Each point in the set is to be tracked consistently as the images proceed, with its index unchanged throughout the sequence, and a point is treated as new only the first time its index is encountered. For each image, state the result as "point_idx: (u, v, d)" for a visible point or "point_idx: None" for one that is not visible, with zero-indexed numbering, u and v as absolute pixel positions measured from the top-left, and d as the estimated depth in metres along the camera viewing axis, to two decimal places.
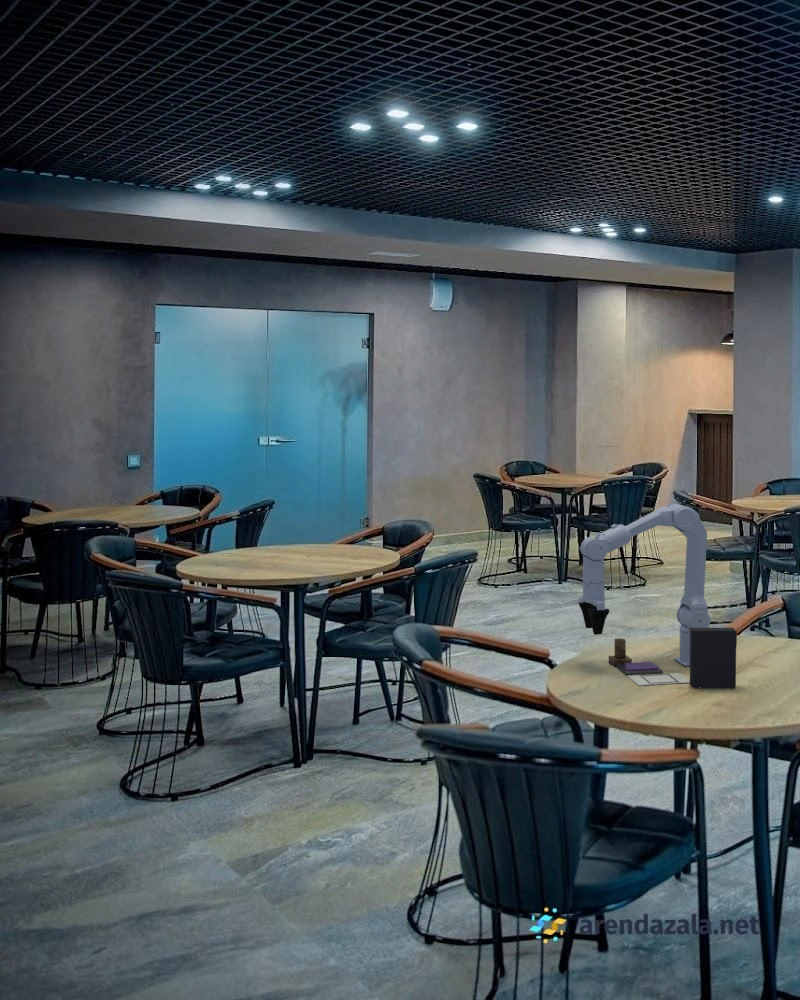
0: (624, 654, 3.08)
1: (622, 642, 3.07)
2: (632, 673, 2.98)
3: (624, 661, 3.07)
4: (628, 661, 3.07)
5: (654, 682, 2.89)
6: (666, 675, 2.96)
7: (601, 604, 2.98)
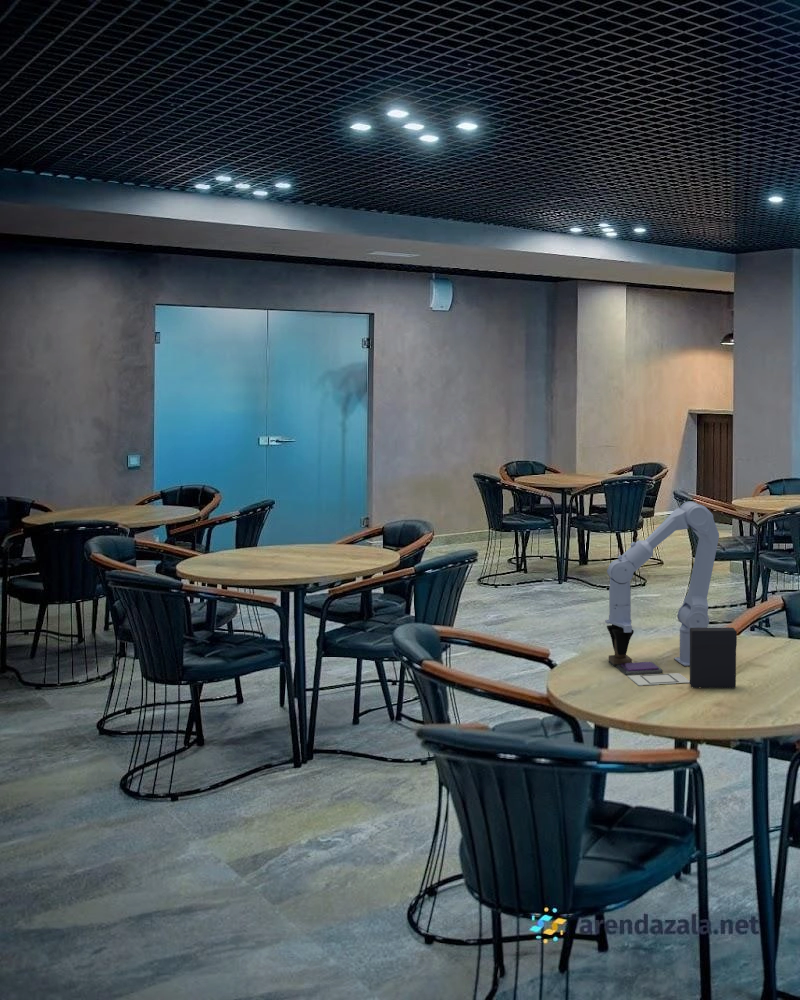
0: None
1: None
2: (632, 673, 2.98)
3: (624, 661, 3.07)
4: (628, 661, 3.07)
5: (654, 682, 2.89)
6: (666, 675, 2.96)
7: (628, 627, 3.01)
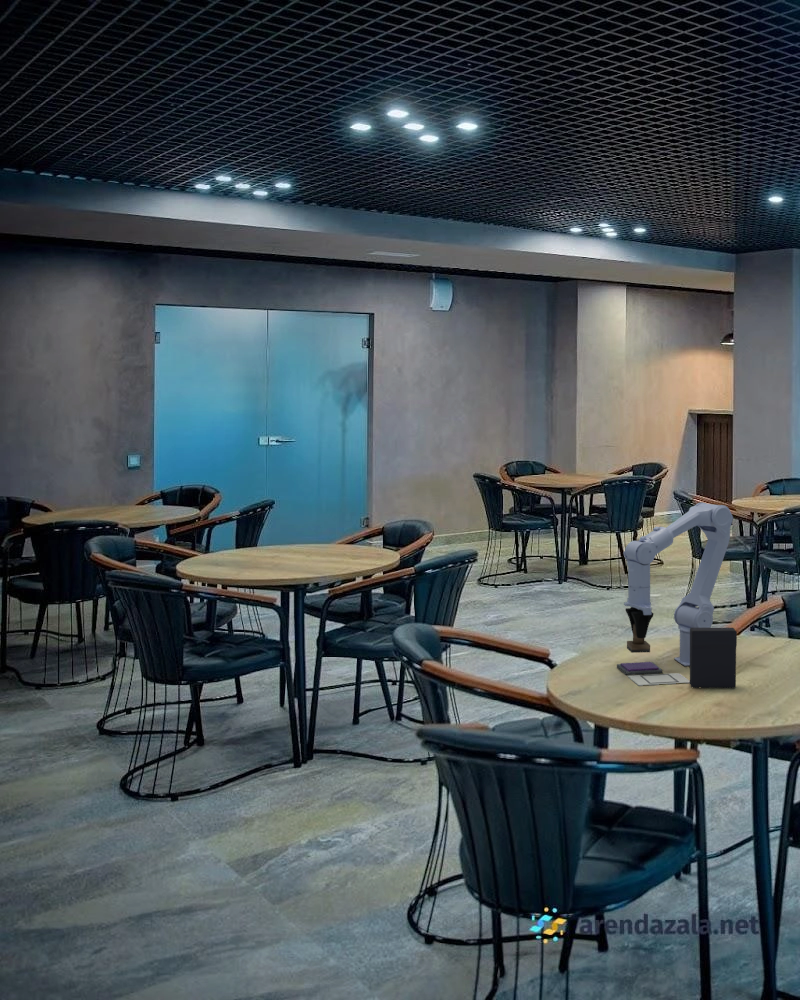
0: (643, 639, 3.00)
1: None
2: (632, 673, 2.98)
3: (642, 646, 2.99)
4: (646, 647, 2.99)
5: (654, 682, 2.89)
6: (666, 675, 2.96)
7: (648, 609, 2.93)
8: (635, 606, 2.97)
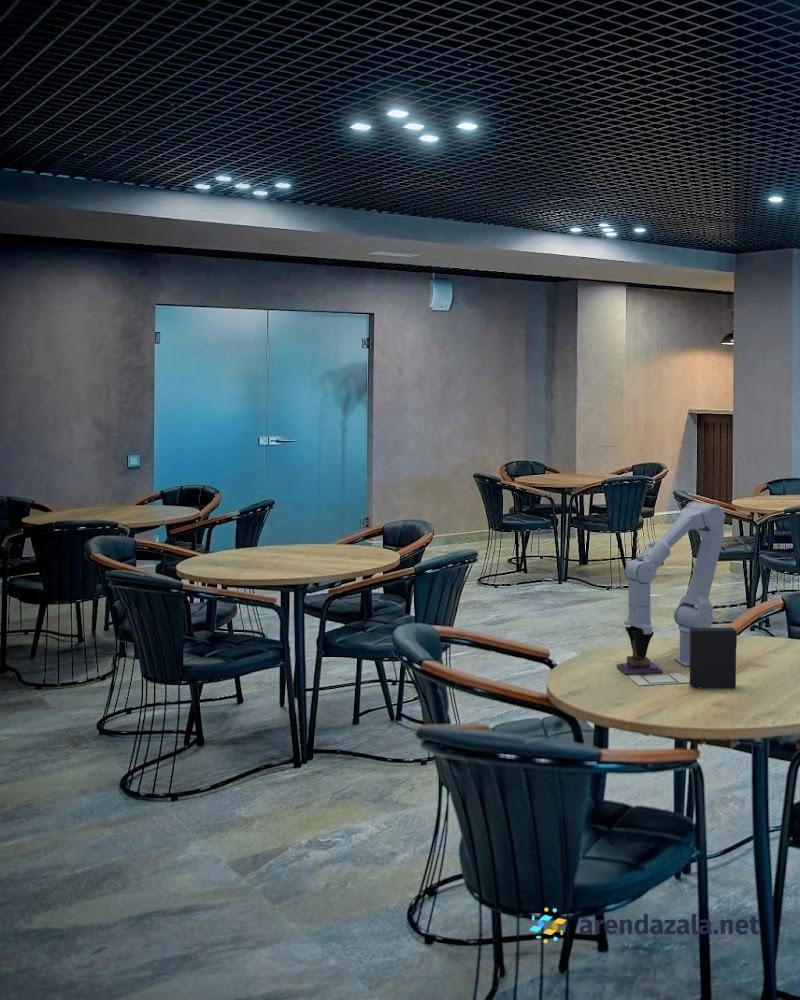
0: None
1: None
2: (632, 673, 2.98)
3: (642, 662, 3.00)
4: (646, 662, 3.00)
5: (654, 682, 2.89)
6: (666, 675, 2.96)
7: (648, 628, 2.94)
8: (635, 625, 2.98)
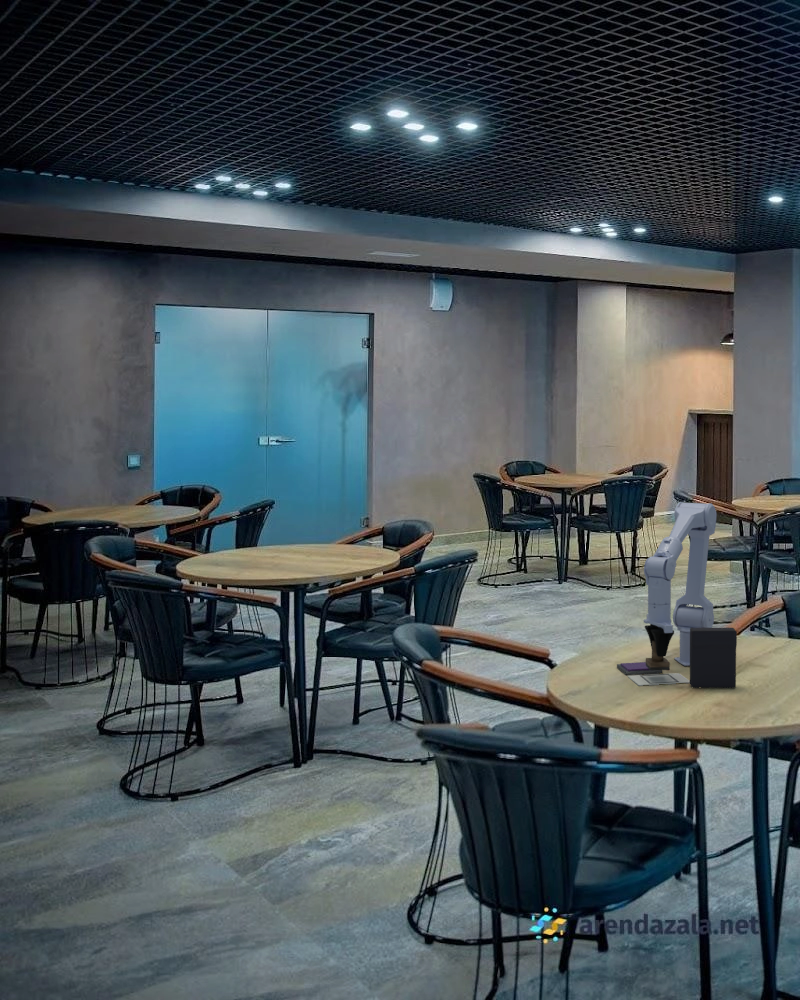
0: (662, 657, 2.91)
1: None
2: (632, 673, 2.98)
3: (661, 664, 2.90)
4: (666, 664, 2.90)
5: (654, 682, 2.89)
6: (666, 675, 2.96)
7: (669, 627, 2.84)
8: (655, 623, 2.88)
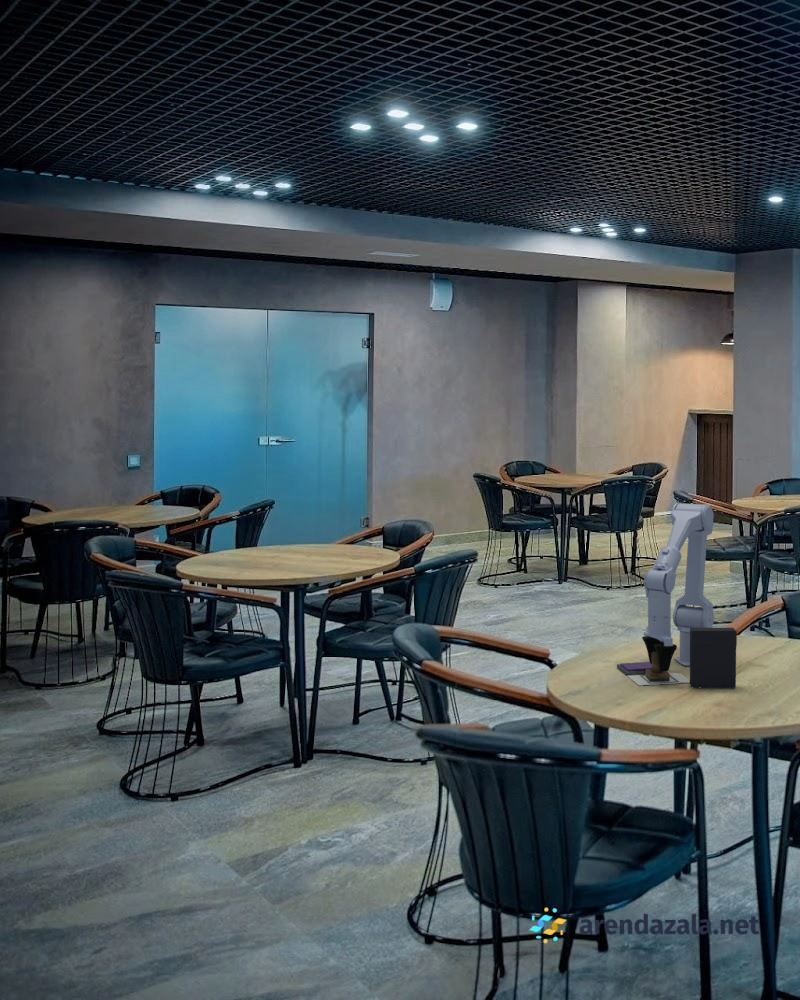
0: None
1: None
2: (632, 673, 2.98)
3: (661, 675, 2.90)
4: (665, 675, 2.90)
5: (654, 682, 2.89)
6: None
7: (669, 640, 2.84)
8: (655, 636, 2.88)
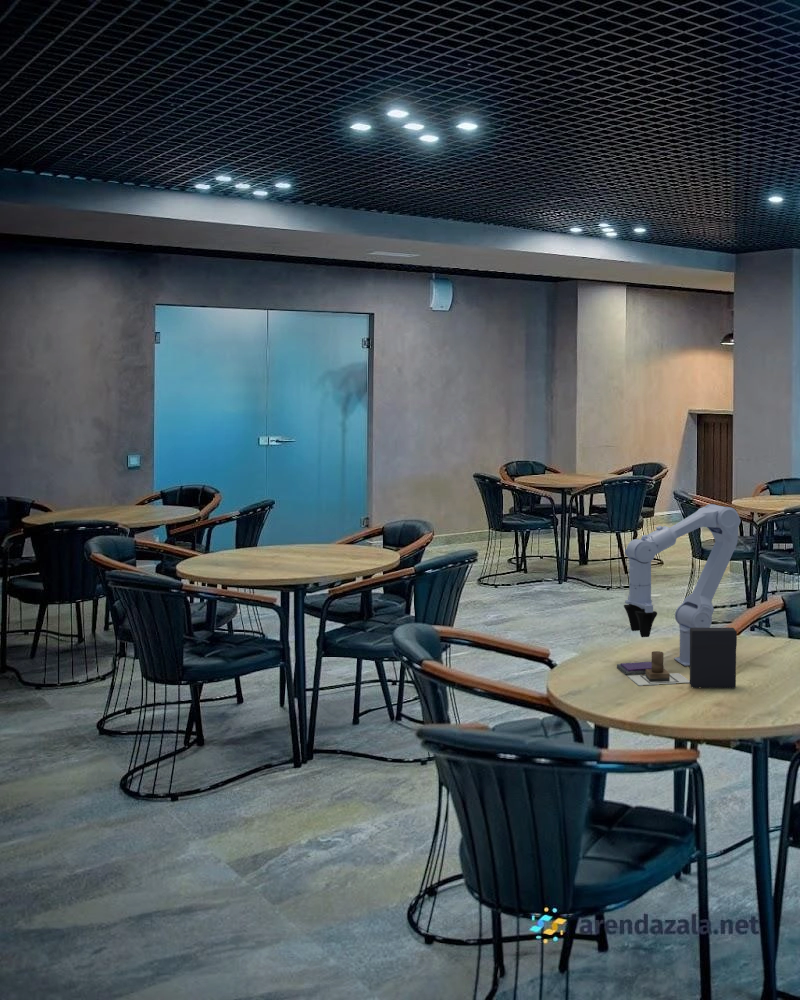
0: (661, 668, 2.91)
1: (659, 655, 2.90)
2: (632, 673, 2.98)
3: (661, 675, 2.90)
4: (665, 675, 2.90)
5: (654, 682, 2.89)
6: None
7: (649, 607, 2.96)
8: (636, 604, 3.00)
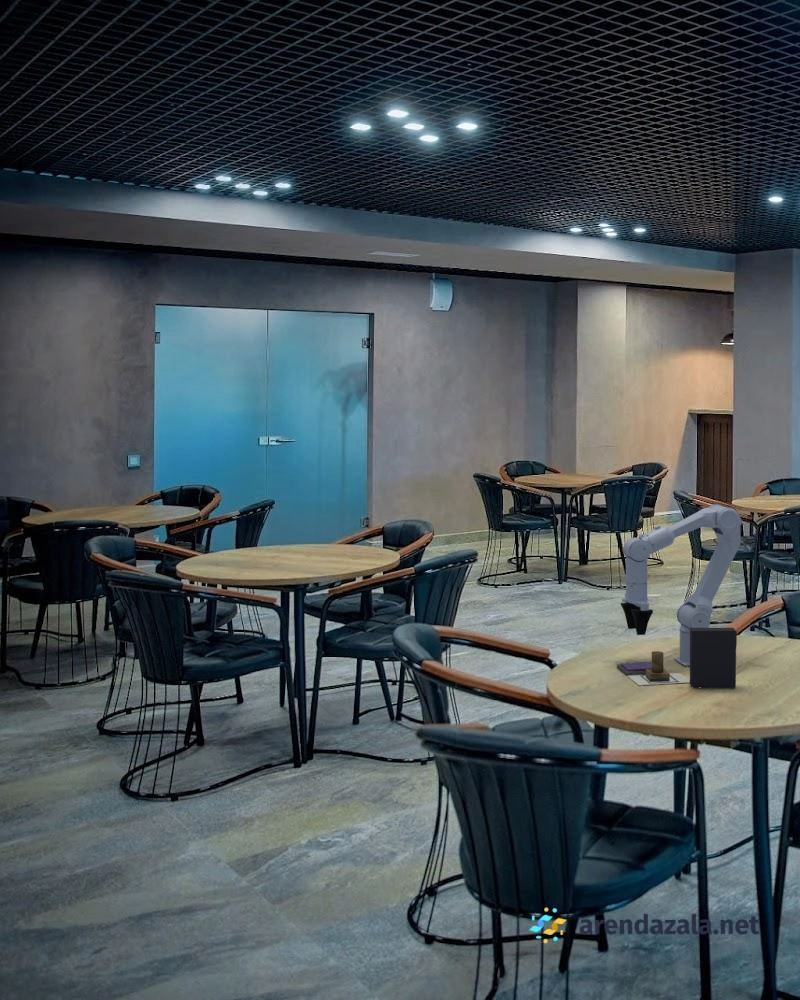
0: (661, 668, 2.91)
1: (659, 655, 2.90)
2: (632, 673, 2.98)
3: (661, 675, 2.90)
4: (665, 675, 2.90)
5: (654, 682, 2.89)
6: None
7: (645, 605, 2.99)
8: (632, 602, 3.03)
